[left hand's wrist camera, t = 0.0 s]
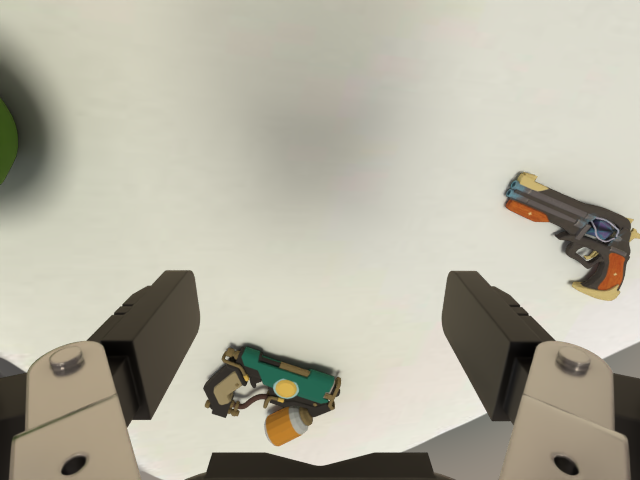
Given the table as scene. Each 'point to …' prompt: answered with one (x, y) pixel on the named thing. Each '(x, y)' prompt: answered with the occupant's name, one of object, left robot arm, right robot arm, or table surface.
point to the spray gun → (273, 392)
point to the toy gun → (579, 232)
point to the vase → (7, 141)
